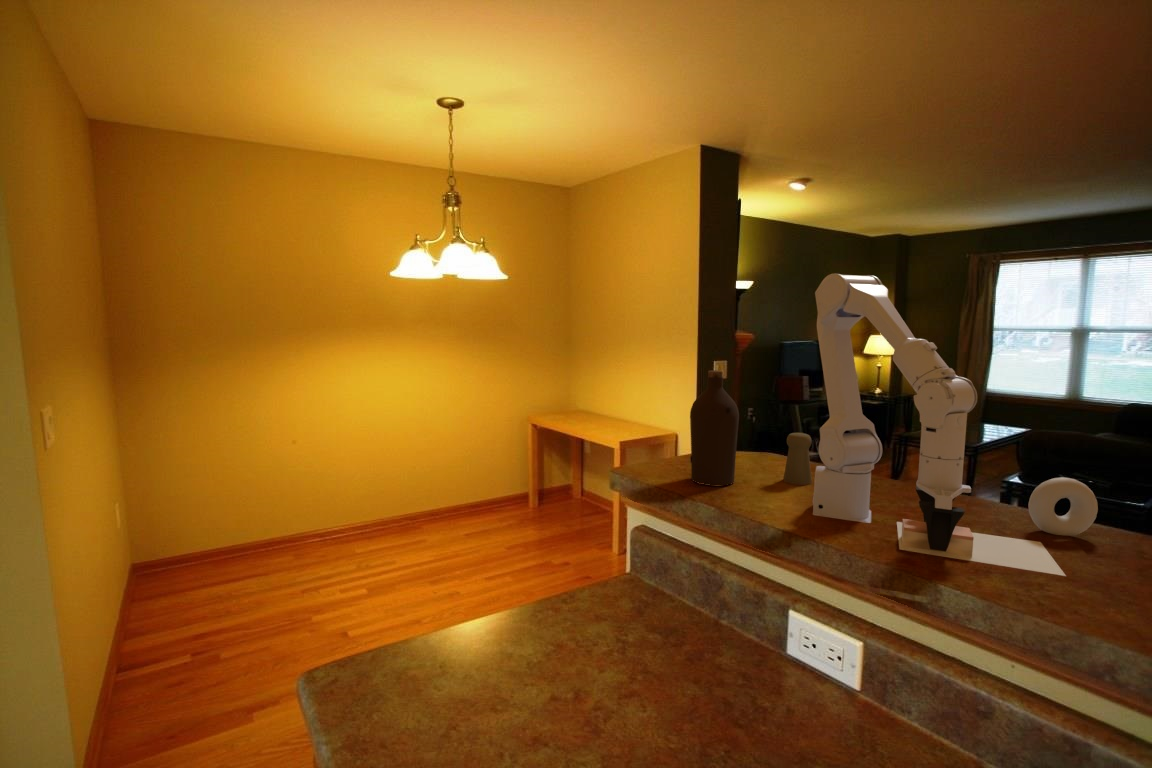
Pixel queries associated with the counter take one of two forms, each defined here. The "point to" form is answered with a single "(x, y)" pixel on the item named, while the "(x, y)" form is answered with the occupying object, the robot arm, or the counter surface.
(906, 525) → the pink and beige box
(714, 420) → the olive oil
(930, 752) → the counter surface
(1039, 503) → the donut
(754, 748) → the counter surface
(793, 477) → the cork
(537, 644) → the counter surface
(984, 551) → the mat
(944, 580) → the counter surface
